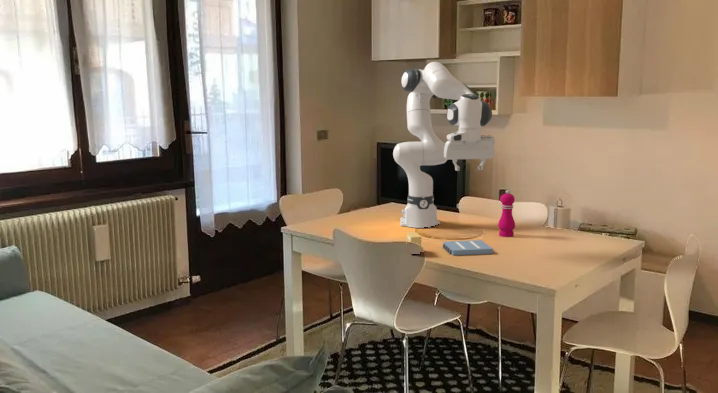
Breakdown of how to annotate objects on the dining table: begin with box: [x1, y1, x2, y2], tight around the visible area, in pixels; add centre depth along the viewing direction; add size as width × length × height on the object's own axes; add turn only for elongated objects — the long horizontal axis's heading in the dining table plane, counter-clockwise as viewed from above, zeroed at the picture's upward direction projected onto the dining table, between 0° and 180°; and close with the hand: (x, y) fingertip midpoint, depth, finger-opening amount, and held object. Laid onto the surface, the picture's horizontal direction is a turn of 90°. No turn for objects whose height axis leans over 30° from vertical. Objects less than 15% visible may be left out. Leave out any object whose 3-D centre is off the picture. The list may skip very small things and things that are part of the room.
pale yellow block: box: [406, 231, 422, 246], centre depth 261 cm, size 8×4×7 cm, turn 8°
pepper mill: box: [497, 189, 516, 238], centre depth 286 cm, size 7×7×20 cm
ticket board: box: [442, 239, 494, 256], centre depth 264 cm, size 14×17×2 cm
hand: (468, 170), depth 266 cm, fingers open, 8 cm apart
